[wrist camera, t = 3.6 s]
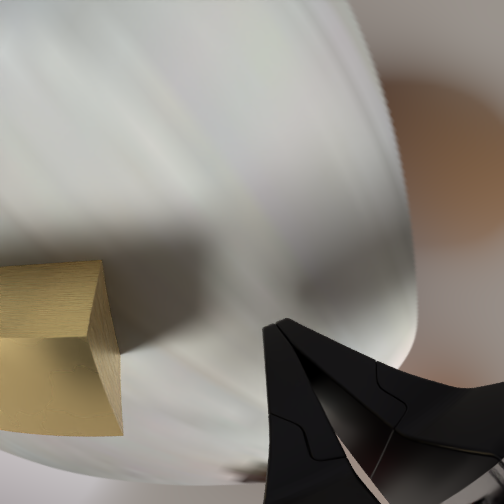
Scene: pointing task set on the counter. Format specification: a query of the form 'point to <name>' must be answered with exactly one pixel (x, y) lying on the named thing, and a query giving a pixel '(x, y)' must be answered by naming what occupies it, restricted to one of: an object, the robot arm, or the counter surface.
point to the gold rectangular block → (58, 351)
